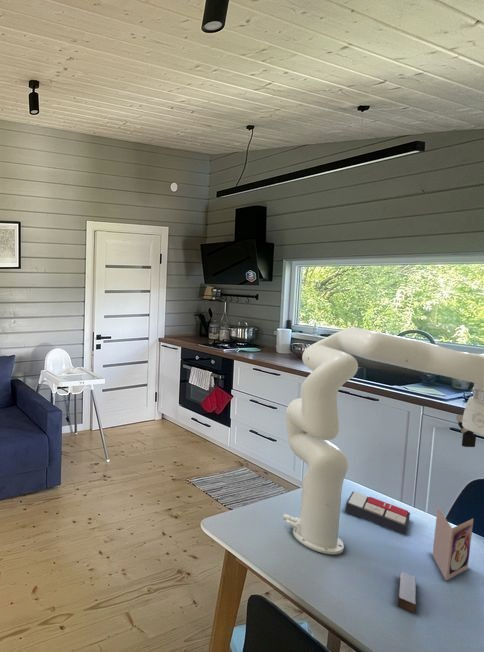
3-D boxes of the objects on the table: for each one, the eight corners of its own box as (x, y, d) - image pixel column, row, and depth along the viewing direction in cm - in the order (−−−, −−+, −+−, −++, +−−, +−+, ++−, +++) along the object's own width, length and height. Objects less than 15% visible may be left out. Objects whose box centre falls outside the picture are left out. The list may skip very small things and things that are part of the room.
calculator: (406, 524, 125) (346, 500, 136) (404, 536, 126) (344, 512, 137) (410, 510, 132) (353, 489, 143) (408, 522, 133) (351, 499, 144)
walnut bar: (397, 606, 99) (398, 597, 99) (399, 579, 108) (400, 571, 107) (414, 613, 97) (415, 604, 97) (415, 585, 106) (416, 577, 105)
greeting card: (450, 582, 107) (456, 530, 105) (414, 563, 113) (420, 514, 112) (471, 570, 111) (477, 520, 109) (436, 553, 118) (441, 505, 116)
